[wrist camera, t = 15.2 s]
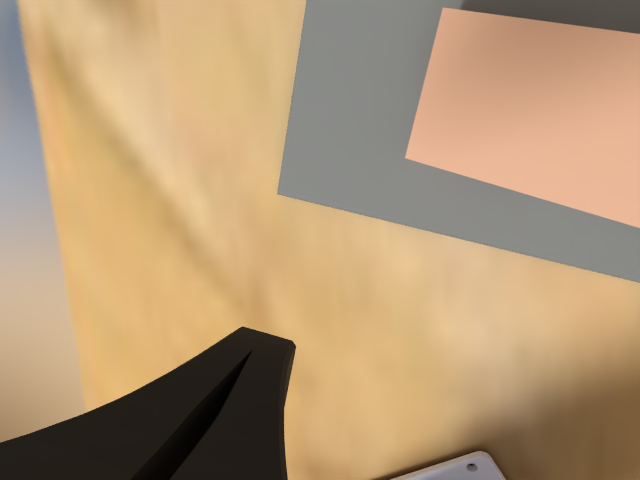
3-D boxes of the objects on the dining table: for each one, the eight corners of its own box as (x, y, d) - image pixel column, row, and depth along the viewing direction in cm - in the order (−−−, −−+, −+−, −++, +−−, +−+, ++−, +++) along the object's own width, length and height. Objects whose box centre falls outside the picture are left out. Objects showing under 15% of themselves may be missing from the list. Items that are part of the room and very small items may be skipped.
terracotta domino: (457, 14, 16) (781, 60, 12) (420, 154, 18) (691, 232, 14) (442, 7, 15) (799, 55, 11) (405, 157, 17) (697, 245, 13)
